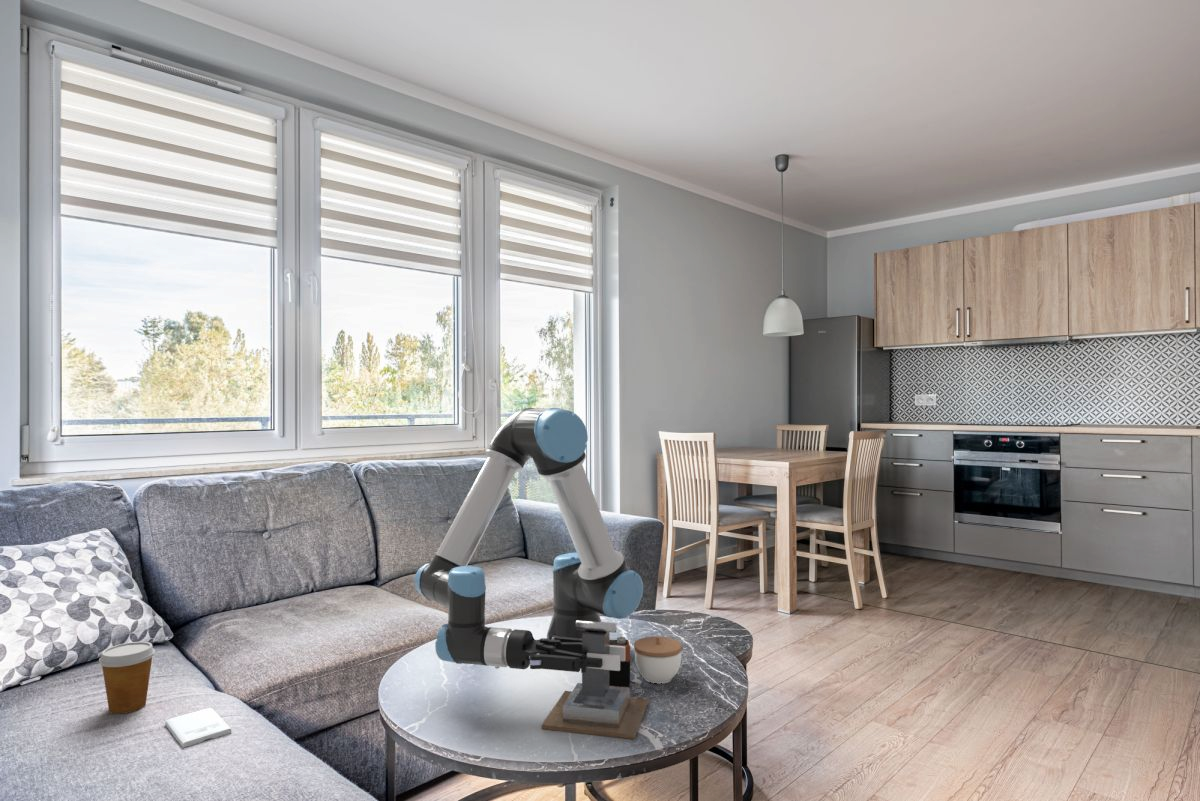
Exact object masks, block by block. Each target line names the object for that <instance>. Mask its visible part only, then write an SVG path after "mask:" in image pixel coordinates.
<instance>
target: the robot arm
mask: <svg viewBox="0 0 1200 801" xmlns="http://www.w3.org/2000/svg"><path fill="white" fill-rule="evenodd" d="M588 440H589V436H588V431H587V427H586V425H585V422H584V421H583V420H582V418H580V416H579V415H577V413H575V412H573V411H572V410H571V411H570V410H569V409H564V408H558V407H550V408H535V407H526V408H522V409H519V410H517V411H516V412H513V413H512V414H511V415H510V416H509V417H508V418H507V419H505V421H504V422H503V423H502V424H501V425H500V427H499V429H498V430H497V431H496V432H495V434H494V436H493V437H492V439H491V441H490V443H489V445H488V446H487V449H486V450H485V455H486V460H485V461H484V463H483V465H482V467H481V469H480V470H479V472H478V474H477V476H476V478H475V480H474V482H473V484H472V485H471V487H470V489H469V491H468V493H467V495H466V496H465V499H464V501H463V502H462V504H461V506H460V508H459V510H458V512H457V514H456V515H455V517H454V518H453V519H454V520H453V521H452V523H451V525H450V527H449V529H448V530H447V531H446V532H447V533H446V534H445V536H444V538H443V540H442V542H441V544H440V546H439V548H438V549H437V551H436V553H435V555H434V556H433V559H432V560H431V562H428V563H426V564H423V565H422V566H420V568H418V570H417V572H416V573H415V576H414V588H415V589H416V591H417V592H418V593H419V594H420V595H421V596H423V597H424V598H425V599H426V600H428V601H432V602H435V603H436V604H439V605H441V606H443V607H444V608H447V610H448V612H447V614H448V616H447V617H448V618H447V619H448V620H447V621H448V622H447V623H445V624H442V625H441V626H440V627H439V629H438V632H437V633H436V640H435V645H434V646H435V654H436V655H437V657H438V659H440V660H441V661H445V662H448V663H449V662H450V663H455V664H457V665H459V664H460V665H461V664H463V665H477V666H478V665H479V666H486V667H494V668H495V669H497V670H499V669H500V668H507V667H508V668H510V669H514V670H515V669H517V670H527V669H528V668H529V669H530V670H550V671H560V672H561V671H563V672H571V673H572V672H573V673H579V672H580V673H581V674H582V673H585V672H586V667H587V668H594V669H604V670H615V671H620V661H625V646H614V645H610V646H609V655H608V654H597V653H587V657H586V655H584V654H582V633H583V632H584V631H585V630H576V627H575V625H576V621H577V620H581V621H594V622H602V619H601V617H600V615H603V616H605V617H607V618H613V619H617V620H620V619H621V620H622V619H626V618H628V617H629V616H631V615H633V613H634V612H635V611H636V610H637V608H638V607H639V605H640V604H641V599H642V598H643V595H644V583H643V579H642V577H641V576H640V574H639V573H637V572H636V571H635V570H632V569H631V570H630V569H629V567H628V565H627V563H626V559H625V557H624V554H623V553H622V552H621V551H619V550H616V549H614V545H613V542H612V540H611V537H610V535H609V531H608V529H607V527H606V524H605V521H604V518H603V516H602V514H601V511H600V508H599V505H598V502H597V499H596V498H595V495H594V492H593V490H592V487H591V483H590V482H589V479H588V476H587V473H586V470H585V469H584V466H583V464H584V462H585V460H586V458H587V456H586V452H585V451H586V449H587V447H588V446H587V442H588ZM530 459H532V460H533V463H534V465H535V468H536V470H537V473H538V475H540V476H541V477H544V478H547V480H548V483H549V484H550V487H551V491H552V493H553V495H554V496H553V497H555V500H556V503H557V505H558V507H559V508H558V509H559V510H560V514H561V516H562V518H563V520H564V521H563V522H564V523H565V526H566V529H567V531H568V533H569V536H570V539H571V540H572V541H571V542H572V544H573V547H574V549H575V551H576V552H568V553H564V554H560V555H558V556H556V557H555V558H554V560H553V569H552V579H553V580H552V581H553V582H552V583H553V585H552V586H553V598H552V599H553V612H552V617H551V621H550V623H549V626H548V627H549V628H548V630H547V634H546V638H539V639H536V638H534V635H533V632H532V631H530V630H529V629H527V630H526V629H516V628H514V629H511V628H506V627H493V626H491V627H489V626H486V623H485V622H486V619H485V618H486V589H487V585H486V578H485V577H486V576H485V571H484V569H483V568H481V567H479V566H473V565H469V563H470V561H471V559H472V557H473V555H474V553H475V551H476V549H477V548H478V546H479V543H480V542H481V540H482V538H483V536H484V534H485V532H486V530H487V528H488V526H489V524H490V522H491V520H492V518H493V517H494V515H495V512H496V511H497V509H498V507H499V505H500V504H501V501H502V500H503V497H504V496H505V494H506V492H507V490H508V488H509V486H510V484H511V482H512V480H513V478H514V476H515V475H516V473H517V472H520V471H522V470H523V468H524V466H525V464H527V461H528V460H530Z"/></svg>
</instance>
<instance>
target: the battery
mask: <svg viewBox="0 0 1200 801" xmlns="http://www.w3.org/2000/svg"><path fill="white" fill-rule="evenodd" d="M610 645H614V646H625V661H620V671H615V670H609V686H617V687H628V688H630V686H631V645H630V641H629V639H627V638H626V637H624V636H618V637H616V639H610Z"/></svg>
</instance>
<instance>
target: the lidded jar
mask: <svg viewBox="0 0 1200 801" xmlns="http://www.w3.org/2000/svg"><path fill="white" fill-rule="evenodd" d="M633 648H634V649H633V650H634V661H635V665H636V668H637V671H638V672H639V674H640V675H641V676H642V677H643V679H644V681H646V682H647V683H650V682H651V683H650V684H654V683H657V684H656V685H663V684H667V683H668V684H669V683H670V682H672V680H673V678H674V677H675V676H676V675H677V674H678V672H679V670H680V667H681V663H682V662H681V660H682V650H683V644H682V643H681V642H680V641H678V640H677V639H675V638H671V637H666V636H657V635H656V636H647V637H642V638H639V639H637V640H636V641H635V642H634V644H633ZM661 683H662V684H661Z"/></svg>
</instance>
